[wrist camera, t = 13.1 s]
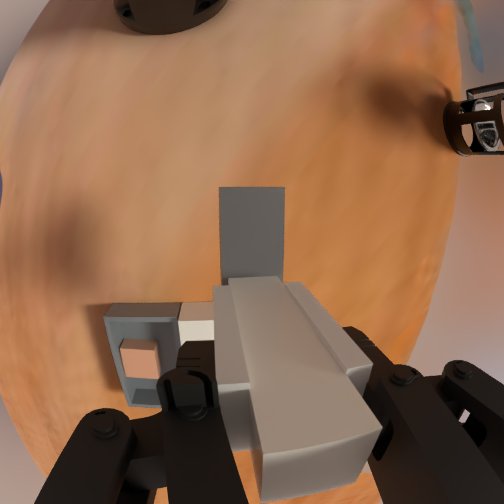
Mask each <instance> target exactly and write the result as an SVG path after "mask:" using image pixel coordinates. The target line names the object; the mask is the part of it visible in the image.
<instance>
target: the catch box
mask: <svg viewBox="0 0 504 504" xmlns="http://www.w3.org/2000/svg"><path fill="white" fill-rule="evenodd" d="M180 310H181V303H113V304H112V306H111V307H110V308H109V310H108V311H107V312H106V314H105V315H104V316H103V318H104V323H105V327H106V331H107V336H108V340H109V344H110V348H111V351H112V355H113V359H114V362H115V366H116V369H117V373H118V376H119V379H120V382H121V386H122V389H123V392H124V395H125V398H126V401H127V403H128V406H131V407H145V408H161V404H160V400H159V396H158V393H157V389H156V384H157V381H158V379H148V378H135V377H126V375H125V370H124V366H123V362H122V357H121V353H120V347H121V345H122V343H123V341H124V339H125V338H127V339H144V340H158V348H159V355H160V362H161V372H160V377H161V376H162V375H163V374H164V373H166V372H168V371H170V370H172V369H175V368H176V362H177V355H178V350H179V348H180V347H181V341H180V333H179V325H178V319H179V315H180ZM160 377H159V378H160Z"/></svg>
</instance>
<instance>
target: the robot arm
mask: <svg viewBox="0 0 504 504" xmlns="http://www.w3.org/2000/svg"><path fill="white" fill-rule="evenodd" d="M226 2H227V0H114V7H115V10H116V13H117V14H118V16H119V18H120V20H121V21H122V23H123V24H124V25H125V26H127V27H128V28H130V29H132V30H134V31H137V32H140V33H145V34H169V33H175V32H180V31H184V30H187V29H190V28H193V27H195V26H198V25H200V24H202V23H204V22H206V21H207V20H209V19H210V18H212V17H213V16H215V15H216V14H217V13H218V12H219V11H220V10H221V9H222V8H223V6H224V5H225V4H226ZM284 287H285V288H286V290H287V291H288V293H289V294H290V295H291V297H292V298H293V300H294V301H295V303H296V304H297V305H298V307H299V308H300V310H301V311H302V313H303V314H304V316H305V317H306V318H307V320H308V321H309V323H310V324H311V326H312V327H313V328H314V330H315V331H316V333H317V334H318V336H319V337H320V339H321V340H322V341H323V343H324V344H325V346H326V347H327V349H328V350H329V351H330V353H331V354H332V356H333V357H334V359H335V360H336V362H337V363H338V365H339V366H340V367H341V369H342V370H343V372H344V373H345V375H347V376H348V378H349V379H350V381H351V382H352V384H353V385H354V386H355V388H356V389H357V391H358V392H359V394H360V395H361V397H362V398H363V399H364V401H365V402H366V404H367V405H368V407H369V408H370V410H371V411H372V413H373V414H374V415H375V417H376V418H377V420H378V421H379V423H380V424H381V426H382V430H381V432H380V434H379V436H378V439H377V441H376V443H375V445H374V447H373V449H372V451H371V453H370V455H369V457H368V459H367V461H368V464H369V466H370V469H371V472H372V474H373V477H374V480H375V482H376V485H377V488H378V490H379V493H380V496H381V498H382V501H383V504H504V385H503V384H502V383H500V382H499V381H497V380H496V379H494V378H493V377H491V376H489V375H488V374H487V373H485V372H483V371H482V370H481V369H479V368H478V367H476V366H475V365H473V364H471V363H469V362H466V361H463V360H454V361H450V362H448V363H447V364H446V365H445V367H444V370H443V372H442V375H438V376H426V377H423V375H422V374H421V373H420V372H419V371H417V370H416V369H415V368H412V367H410V366H407V365H402V364H397V365H394V364H393V363H392V362H391V361H390V360H389V359H388V358H387V357H386V356H385V355H384V354H383V353H382V352H381V351H380V350H379V348H378V347H377V346H375V344H374V343H373V342H372V341H371V340H370V341H369V338H368V337H367V336H366V335H365V334H364V333H363V332H362V331H360V330H358V329H356V328H354V327H352V326H349V327H341V326H340V325H339V324H338V323H337V322H336V321H335V319H334V318H333V317H332V316H331V315H330V314H329V313H328V312H327V310H326V309H325V308H324V307H323V306H322V305H321V304H320V303H319V301H318V300H317V299H316V298H315V297H314V296H313V295H312V294H311V293H310V291H309V290H308V289H307V288H306V287H305V286H304V285H303V284H302V283H301V282H287V283H284ZM213 312H214V340H199V341H185V342H184V344H183V345H182V346H181V347H180V348H179V350H178V355H177V362H176V368H175V369H172V370H170V371H168V372H166V373H164V374H163V375H162V376H161V377H160V378H159V379H158V381H157V384H156V389H157V393H158V396H159V400H160V404H161V408H162V411H161V412H159V413H157V414H155V415H153V416H149V417H145V418H139V419H133V420H129V417H128V416H126V415H125V414H124V413H123V412H121V411H119V410H116V409H111V408H102V409H97V410H93V411H92V412H90V413H88V414H86V415H85V416H84V417H83V418H82V419H81V420H80V422H79V424H78V425H77V427H76V429H75V430H74V432H73V434H72V435H71V437H70V439H69V441H68V442H67V444H66V446H65V447H64V449H63V451H62V453H61V454H60V456H59V458H58V460H57V461H56V463H55V465H54V467H53V469H52V470H51V472H50V474H49V476H48V478H47V480H46V482H45V483H44V485H43V487H42V489H41V491H40V493H39V495H38V497H37V499H36V501H35V503H34V504H154V500H155V495H156V491H157V488H163V487H167V491H168V501H169V504H249V503H248V500H247V497H246V494H245V491H244V488H243V485H242V482H241V479H240V476H239V473H238V470H237V466H236V463H235V460H234V456H233V453H232V451H244V450H250V414H249V389H250V380H249V375H248V371H247V366H246V361H245V356H244V351H243V347H242V342H241V337H240V332H239V327H238V322H237V317H236V311H235V306H234V301H233V296H232V291H231V285H225V286H213ZM465 409H466V410H467V411H468V412H470V415H469V417H468V418H467V420H466V422H465V423H461V422H459V419H460V417H461V416H462V414H463V412H464V410H465Z"/></svg>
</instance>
